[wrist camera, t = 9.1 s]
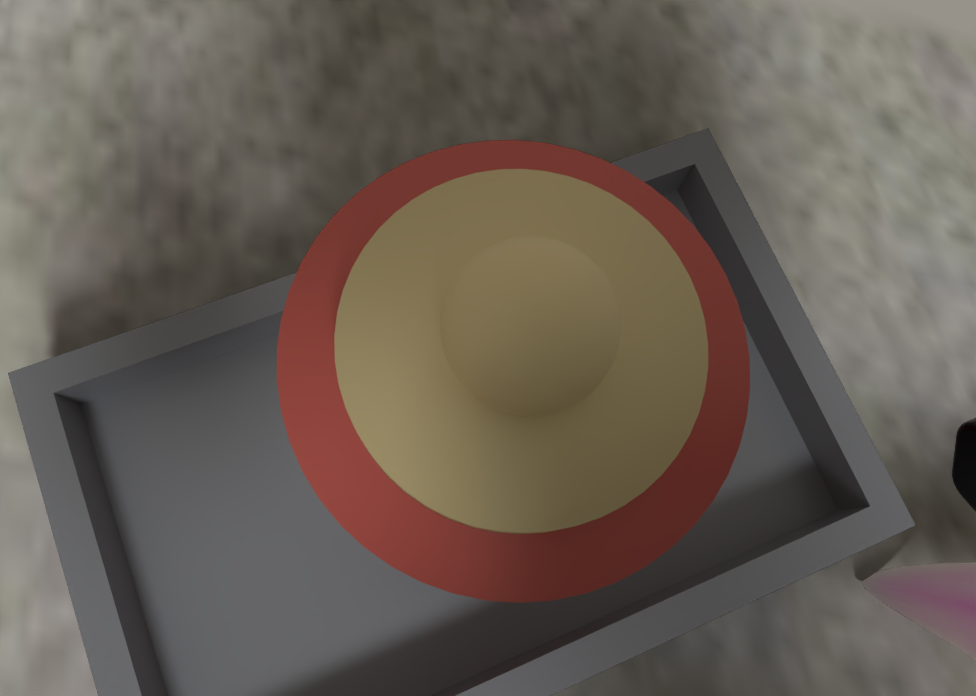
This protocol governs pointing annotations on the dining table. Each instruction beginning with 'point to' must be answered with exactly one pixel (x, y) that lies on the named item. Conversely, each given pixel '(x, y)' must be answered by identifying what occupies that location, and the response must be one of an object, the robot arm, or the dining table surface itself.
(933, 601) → the lily
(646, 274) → the pepper mill
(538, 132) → the dining table surface
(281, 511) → the tray
